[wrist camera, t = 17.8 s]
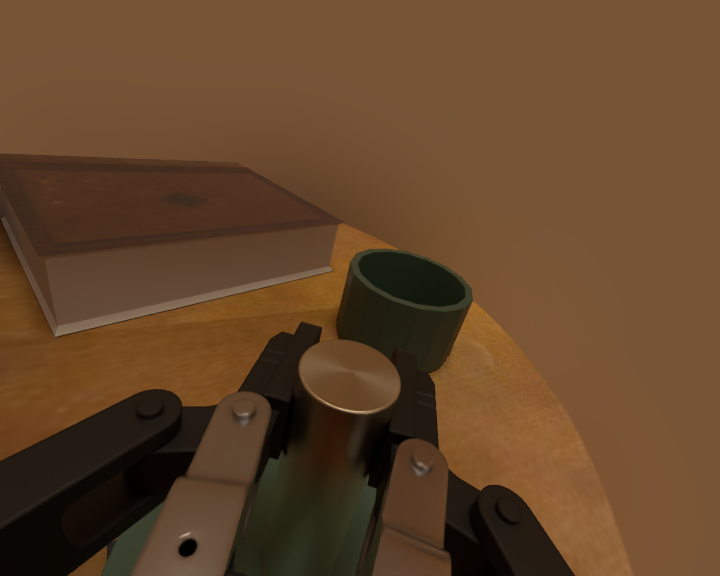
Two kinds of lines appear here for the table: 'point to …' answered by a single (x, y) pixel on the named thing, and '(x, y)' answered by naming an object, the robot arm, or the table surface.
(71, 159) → the book
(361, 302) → the tin
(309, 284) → the table surface
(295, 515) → the tin lid
